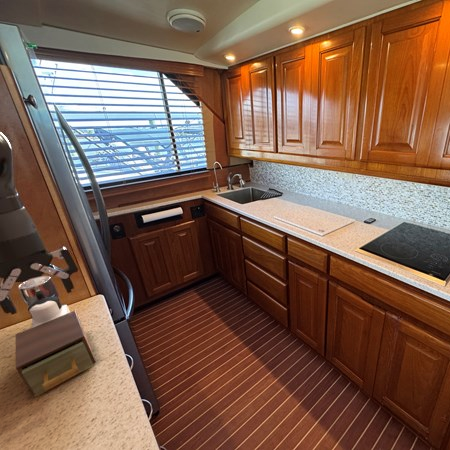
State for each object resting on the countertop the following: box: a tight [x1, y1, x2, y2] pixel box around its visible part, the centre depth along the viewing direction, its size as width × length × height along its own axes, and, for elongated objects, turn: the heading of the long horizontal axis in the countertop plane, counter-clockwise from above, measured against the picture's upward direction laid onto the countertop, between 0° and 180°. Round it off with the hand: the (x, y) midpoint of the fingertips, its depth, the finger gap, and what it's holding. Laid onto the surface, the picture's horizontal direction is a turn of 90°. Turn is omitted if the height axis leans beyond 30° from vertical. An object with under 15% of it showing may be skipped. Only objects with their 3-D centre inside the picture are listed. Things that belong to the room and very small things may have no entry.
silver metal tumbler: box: [17, 275, 61, 308], centre depth 72 cm, size 7×7×15 cm
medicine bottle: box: [27, 297, 71, 328], centre depth 68 cm, size 7×7×12 cm
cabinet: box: [15, 310, 97, 397], centre depth 60 cm, size 14×11×9 cm
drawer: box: [22, 340, 94, 397], centre depth 57 cm, size 18×10×7 cm, turn 49°
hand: (43, 301), depth 52 cm, fingers open, 8 cm apart
